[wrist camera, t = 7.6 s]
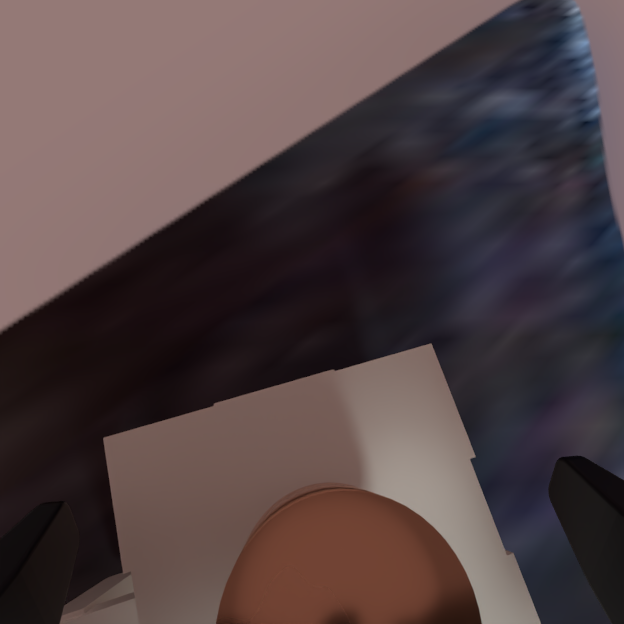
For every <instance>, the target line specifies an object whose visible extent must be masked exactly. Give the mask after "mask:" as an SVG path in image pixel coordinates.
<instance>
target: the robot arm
mask: <svg viewBox="0 0 624 624" xmlns="http://www.w3.org/2000/svg"><path fill="white" fill-rule="evenodd" d="M549 498H550V501H551V503H552V505H553V507H554V510H555V512H556V514H557V516H558V518H559V520H560V523H561V525H562V527H563V529H564V531H565V534H566V536H567V538H568V540H569V542H570V544H571V547H572V549H573V551H574V553H575V555H576V557H577V560H578V562H579V564H580V566H581V568H582V570H583V572H584V574H585V576H586V578H587V580H588V582H589V584H590V586H591V588H592V590H593V591H594V593H595V595H596V597H597V599H598V600H599V602H600V604H601V606H602V607H603V609H604V611H605V613H606V614H607V616H608V618H609V620H610V621H611V623H612V624H624V480H623V479H621V478H619V477H617V476H616V475H614V474H612V473H611V472H609V471H607V470H605V469H604V468H602V467H600V466H599V465H597V464H595V463H593V462H592V461H590V460H588V459H586V458H585V457H582V456H569V457H561V458H559V459H558V460H557V462H556V464H555V468H554V471H553V474H552V478H551V481H550V484H549ZM79 541H80V536H79V530H78V528H77V525H76V522H75V519H74V517H73V514H72V511H71V509H70V506H69V504H68V503H66V502H64V501H59V502H47V503H42V504H40V505H38V506H37V507H36V508H34V509H33V510H32V511H31V512H30V513H29V514H28V515H26V516H25V517H24V518H23V519H22V520H21V521H20V522H19V523H17V524H16V525H15V526H14V527H13V528H12V529H11V530H10V531H8V532H7V533H6V534H5V535H4V536H3V537H2V538H1V539H0V624H60V621H61V617H62V613H63V609H64V604H65V600H66V596H67V592H68V588H69V584H70V580H71V576H72V572H73V568H74V564H75V560H76V556H77V552H78V548H79Z"/></svg>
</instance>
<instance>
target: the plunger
mask: <svg viewBox="0 0 624 624" xmlns="http://www.w3.org/2000/svg"><path fill="white" fill-rule="evenodd" d="M216 624H482V622H481V617H480V611H479V607H478V604H477V600H476V597H475V594H474V590H473V588H472V585H471V583H470V581H469V578H468V576H467V573H466V571H465V569H464V568H463V566H462V564H461V562H460V560H459V559H458V557H457V555H456V554H455V552H454V551H453V549H452V548H451V547H450V545H449V544H448V543H447V541H446V540H445V539H444V538H443V537H442V535H441V534H440V533H439V532H438V531H437V530H436V529H435V528H434V527H433V526H432V525H431V524H430V523H429V522H427V521H426V520H425V519H424V518H423V517H422V516H420V515H419V514H417V513H416V512H414V511H413V510H411V509H410V508H408V507H407V506H405V505H403V504H401V503H399V502H397V501H394V500H392V499H390V498H387V497H384V496H381V495H379V494H376V493H373V492H370V491H367V490H364V489H361V488H358V487H355V486H352V485H348V484H343V483H329V482H327V483H317V484H313V485H309V486H305V487H302V488H300V489H297V490H295V491H293V492H291V493H289V494H287V495H286V496H284V497H282V498H281V499H280V500H278V501H277V502H276V503H275V504H273V505H272V506H271V507H270V508H269V509H268V510H267V511H266V512H265V513H264V515H263V516H262V517H261V518H260V520H259V521H258V522H257V523H256V525H255V527H254V528H253V530H252V532H251V533H250V535H249V537H248V539H247V541H246V543H245V545H244V547H243V549H242V551H241V553H240V555H239V557H238V559H237V561H236V563H235V565H234V567H233V569H232V572H231V574H230V576H229V578H228V580H227V583H226V586H225V589H224V592H223V595H222V598H221V601H220V605H219V610H218V615H217V620H216Z"/></svg>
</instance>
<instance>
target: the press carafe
mask: <svg viewBox="0 0 624 624" xmlns="http://www.w3.org/2000/svg"><path fill="white" fill-rule="evenodd" d="M103 441H104V448H105V455H106V461H107V468H108V475H109V482H110V488H111V495H112V502H113V509H114V515H115V522H116V529H117V536H118V542H119V549H120V556H121V563H122V569H123V573H120V574H117V575H114V576H111V577H108V578H106V579H104V580H103V581H101V582H100V583H98V584H97V585H95V586H94V587H92V588H91V589H89V590H87V591H86V592H84V593H83V594H81V595H80V596H78V597H77V598H75V599H74V600H72V601H70V602H69V603H67V604H66V605H64V609H63V613H62V617H61V621H60V624H216V620H217V615H218V610H219V605H220V601H221V598H222V595H223V592H224V589H225V586H226V583H227V580H228V578H229V576H230V574H231V572H232V569H233V567H234V565H235V563H236V561H237V559H238V557H239V555H240V553H241V551H242V549H243V547H244V545H245V543H246V541H247V539H248V537H249V535H250V533H251V532H252V530H253V528H254V527H255V525H256V523H257V522H258V521H259V520H260V518H261V517H262V516H263V515H264V513H265V512H266V511H267V510H268V509H269V508H270V507H271V506H272V505H273V504H275V503H276V502H277V501H278V500H280V499H281V498H282V497H284V496H286V495H287V494H289V493H291V492H293V491H295V490H297V489H300V488H302V487H305V486H309V485H313V484H317V483H327V482H329V483H343V484H348V485H352V486H355V487H358V488H361V489H364V490H367V491H370V492H373V493H376V494H379V495H381V496H384V497H387V498H390V499H392V500H394V501H397V502H399V503H401V504H403V505H405V506H407V507H408V508H410V509H411V510H413V511H414V512H416V513H417V514H419V515H420V516H422V517H423V518H424V519H425V520H426V521H427V522H429V523H430V524H431V525H432V526H433V527H434V528H435V529H436V530H437V531H438V532H439V533H440V534H441V535H442V537H443V538H444V539H445V540H446V541H447V543H448V544H449V545H450V547H451V548H452V549H453V551H454V552H455V554H456V555H457V557H458V559H459V560H460V562H461V564H462V566H463V568H464V569H465V571H466V573H467V576H468V578H469V581H470V583H471V585H472V588H473V590H474V594H475V597H476V600H477V604H478V607H479V611H480V617H481V622H482V624H541V623H540V620H539V617H538V615H537V612H536V610H535V607H534V605H533V602H532V600H531V597H530V594H529V592H528V589H527V587H526V584H525V582H524V579H523V577H522V574H521V571H520V569H519V566H518V564H517V561H516V559H515V556H514V554H513V553H512V552H509V551H507V550H505V549H504V547H503V544H502V541H501V539H500V536H499V534H498V531H497V529H496V526H495V523H494V521H493V518H492V516H491V513H490V510H489V508H488V505H487V503H486V500H485V498H484V495H483V492H482V490H481V487H480V485H479V482H478V479H477V477H476V474H475V472H474V469H473V466H472V464H471V461H470V458H473V457H476V456H475V454H474V451H473V449H472V446H471V444H470V441H469V439H468V436H467V433H466V431H465V428H464V426H463V423H462V421H461V418H460V416H459V413H458V410H457V408H456V405H455V403H454V400H453V398H452V395H451V392H450V390H449V387H448V385H447V382H446V380H445V377H444V375H443V372H442V369H441V367H440V364H439V362H438V359H437V357H436V354H435V352H434V349H433V346H432V344H427V345H424V346H421V347H417V348H414V349H410V350H407V351H403V352H400V353H396V354H393V355H389V356H386V357H382V358H379V359H375V360H372V361H368V362H365V363H361V364H358V365H354V366H351V367H348V368H344V369H341V370H337V371H334V369H333V370H329V371H326V372H322V373H319V374H315V375H312V376H308V377H305V378H301V379H298V380H294V381H291V382H287V383H284V384H280V385H277V386H273V387H270V388H266V389H263V390H259V391H256V392H252V393H249V394H245V395H242V396H238V397H235V398H232V399H228V400H225V401H221V402H218V403H214V406H212V407H209V408H205V409H202V410H198V411H195V412H191V413H188V414H184V415H181V416H177V417H174V418H170V419H167V420H163V421H160V422H156V423H153V424H149V425H146V426H143V427H139V428H136V429H132V430H129V431H125V432H122V433H118V434H115V435H111V436H108V437H104V438H103Z"/></svg>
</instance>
